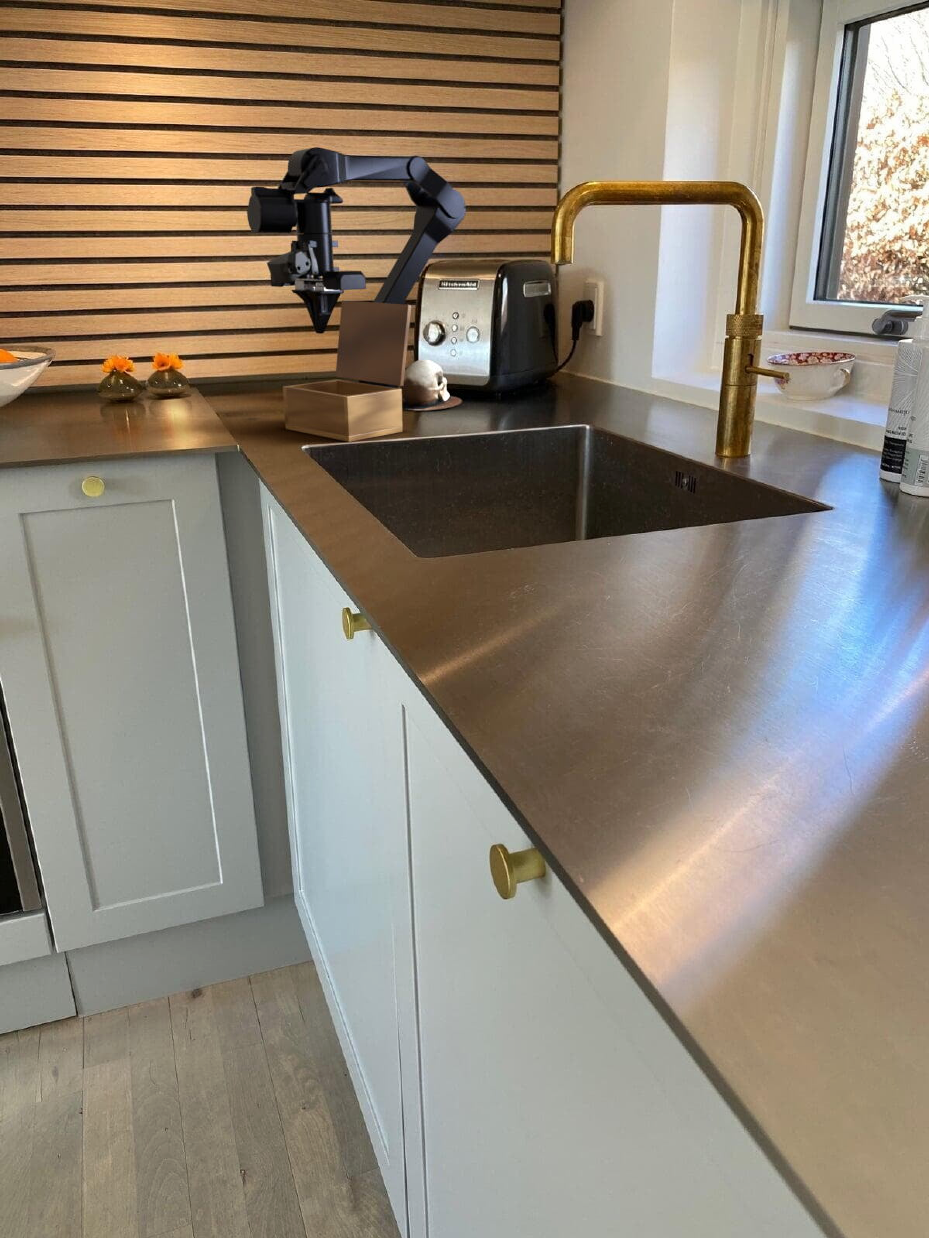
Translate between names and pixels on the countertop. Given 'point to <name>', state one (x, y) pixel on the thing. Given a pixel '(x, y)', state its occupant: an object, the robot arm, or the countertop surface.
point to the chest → (343, 409)
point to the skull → (426, 388)
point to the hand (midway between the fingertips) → (320, 333)
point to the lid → (373, 342)
